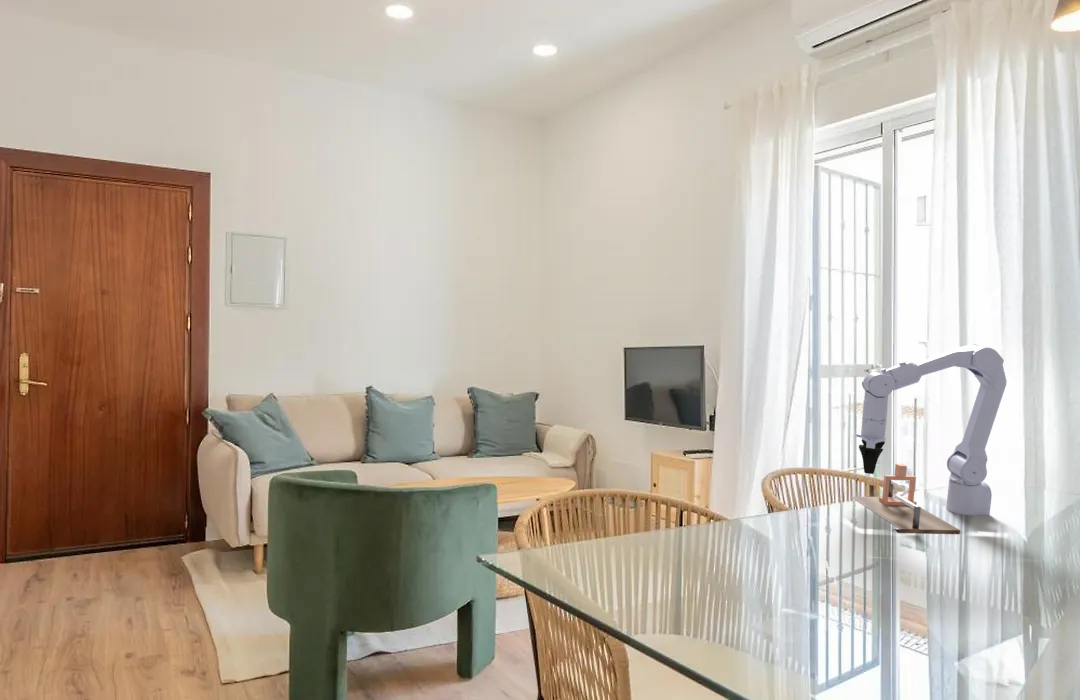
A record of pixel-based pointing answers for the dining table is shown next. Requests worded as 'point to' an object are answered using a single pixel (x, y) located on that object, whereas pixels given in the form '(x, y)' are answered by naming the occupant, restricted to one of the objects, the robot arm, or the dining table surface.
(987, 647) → the dining table surface
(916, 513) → the bent wire
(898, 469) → the frame
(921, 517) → the base board
